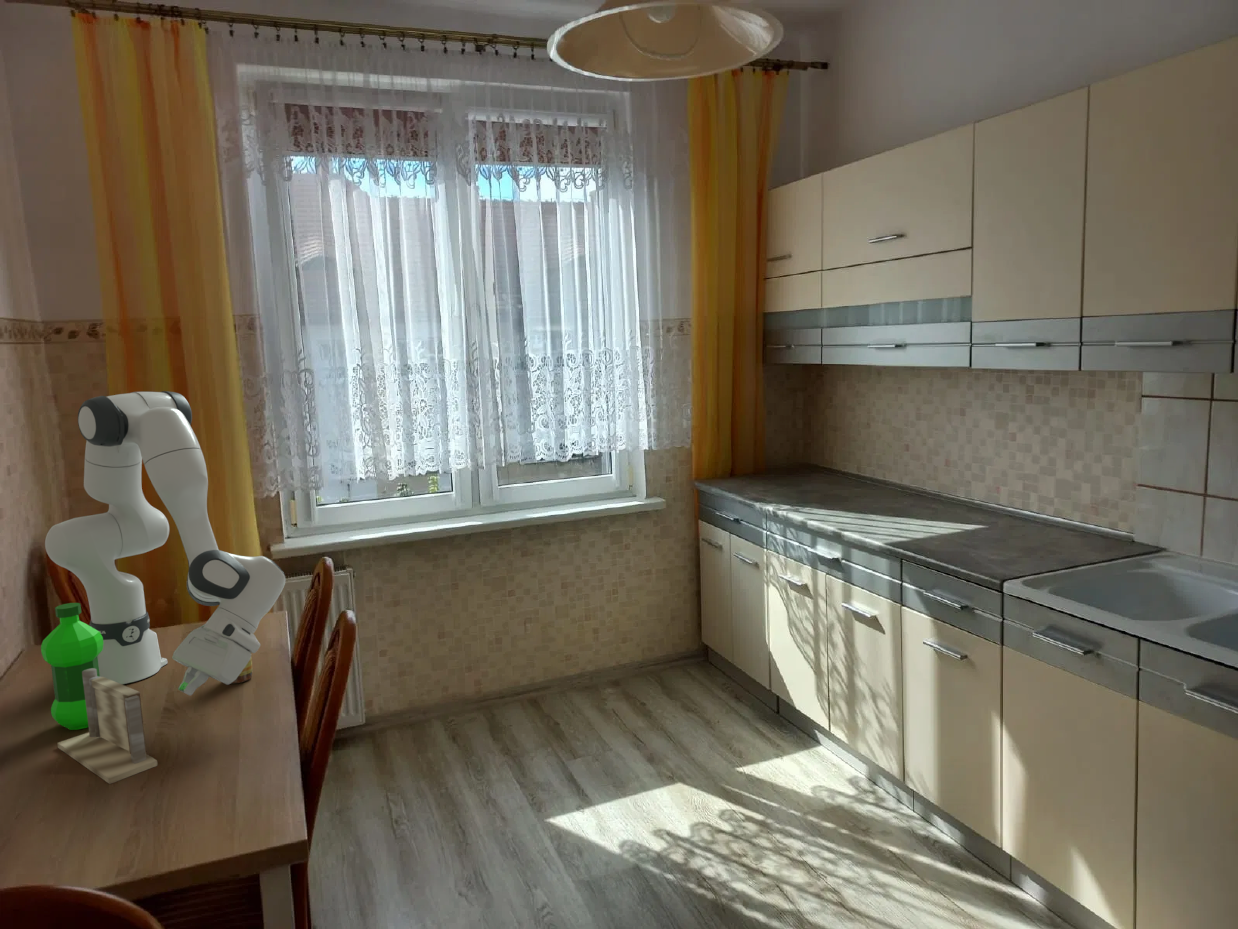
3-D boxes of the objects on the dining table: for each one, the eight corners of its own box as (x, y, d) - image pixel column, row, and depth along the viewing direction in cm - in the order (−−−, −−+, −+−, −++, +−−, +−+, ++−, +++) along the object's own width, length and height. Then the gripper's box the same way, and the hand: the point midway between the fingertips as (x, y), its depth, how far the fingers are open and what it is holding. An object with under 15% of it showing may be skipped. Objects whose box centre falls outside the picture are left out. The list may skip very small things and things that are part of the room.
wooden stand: (58, 747, 161) (49, 678, 159) (103, 732, 167) (95, 665, 166) (109, 784, 146) (100, 707, 145) (157, 765, 153) (149, 692, 151)
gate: (93, 735, 162) (87, 678, 161) (104, 731, 164) (98, 674, 162) (135, 756, 153) (128, 695, 152) (146, 752, 155) (139, 691, 153)
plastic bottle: (76, 713, 177) (62, 598, 174) (123, 714, 176) (109, 598, 173) (39, 735, 167) (23, 613, 164) (88, 735, 166) (73, 613, 163)
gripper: (192, 614, 176) (147, 674, 170) (241, 632, 163) (195, 697, 157) (215, 629, 180) (172, 688, 174) (265, 647, 167) (221, 711, 161)
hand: (183, 692), depth 165 cm, fingers closed
